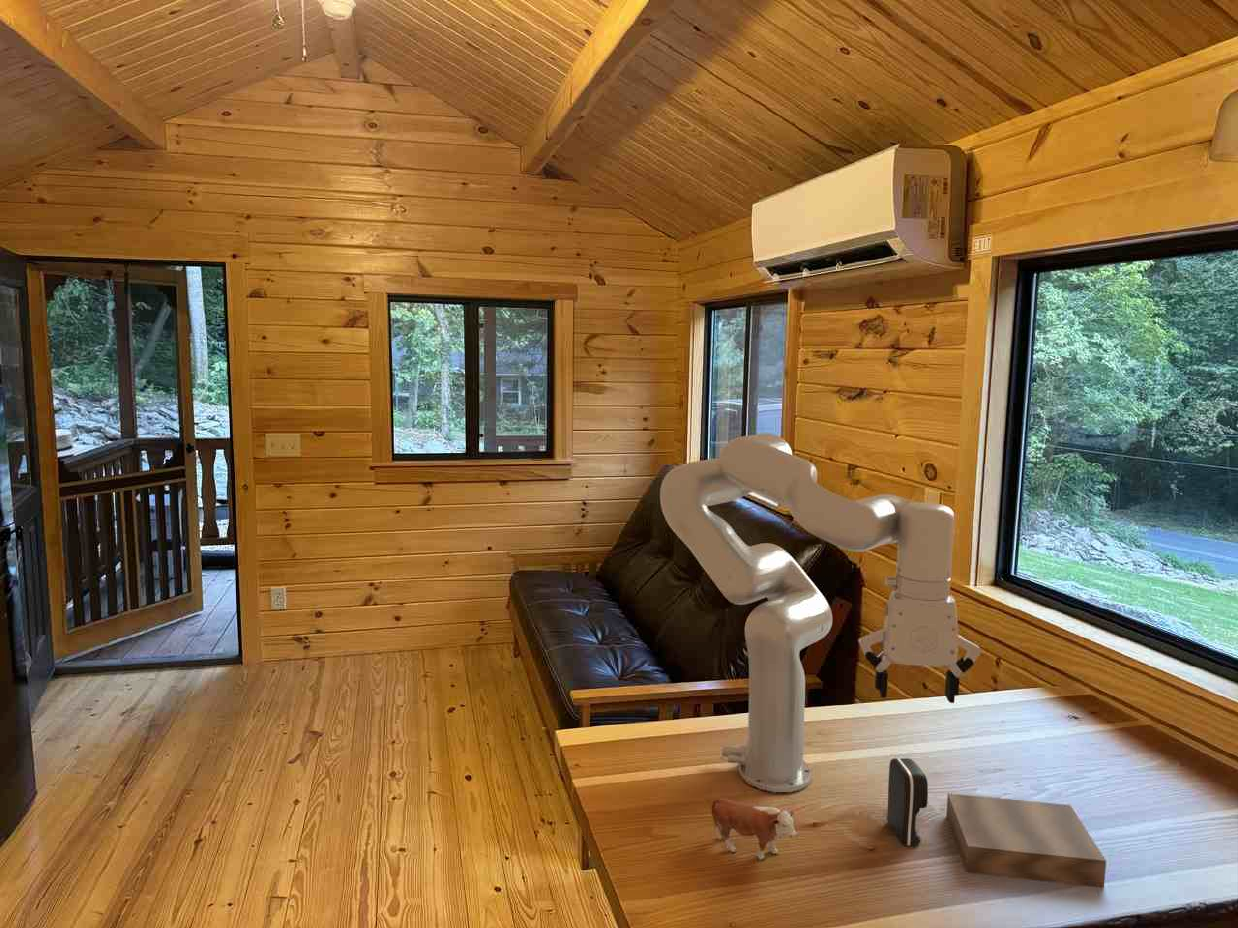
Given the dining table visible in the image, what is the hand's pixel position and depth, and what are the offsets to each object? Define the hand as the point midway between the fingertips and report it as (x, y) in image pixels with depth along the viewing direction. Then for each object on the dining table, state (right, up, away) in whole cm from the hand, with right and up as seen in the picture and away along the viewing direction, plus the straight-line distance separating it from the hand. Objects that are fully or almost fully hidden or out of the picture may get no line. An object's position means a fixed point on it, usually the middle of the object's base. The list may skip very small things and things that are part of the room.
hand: (915, 696), depth 122 cm
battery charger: (0, -22, +3) cm, 23 cm away
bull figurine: (-25, -23, -1) cm, 34 cm away
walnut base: (+15, -23, -1) cm, 27 cm away
